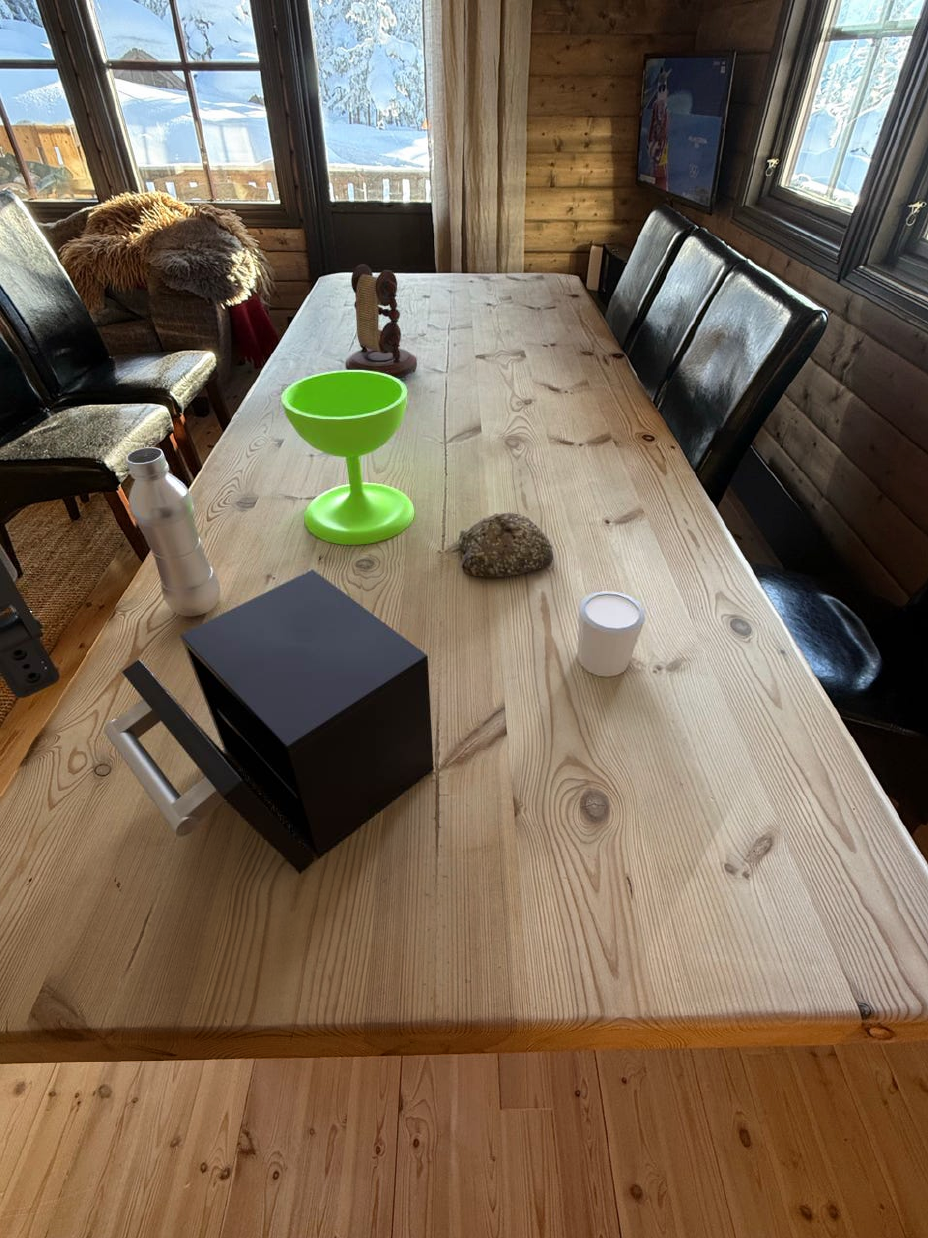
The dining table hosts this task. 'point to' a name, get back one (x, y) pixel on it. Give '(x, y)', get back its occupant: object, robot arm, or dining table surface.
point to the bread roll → (504, 546)
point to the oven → (316, 705)
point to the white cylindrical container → (608, 632)
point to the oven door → (209, 758)
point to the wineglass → (351, 451)
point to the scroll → (374, 342)
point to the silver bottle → (171, 533)
